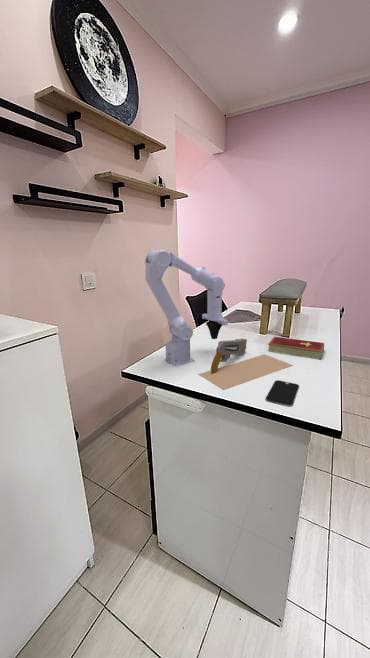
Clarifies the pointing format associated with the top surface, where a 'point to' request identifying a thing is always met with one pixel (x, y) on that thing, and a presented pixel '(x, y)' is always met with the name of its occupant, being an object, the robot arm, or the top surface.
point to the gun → (228, 351)
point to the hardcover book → (296, 347)
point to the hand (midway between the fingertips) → (214, 338)
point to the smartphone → (282, 393)
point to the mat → (244, 371)
